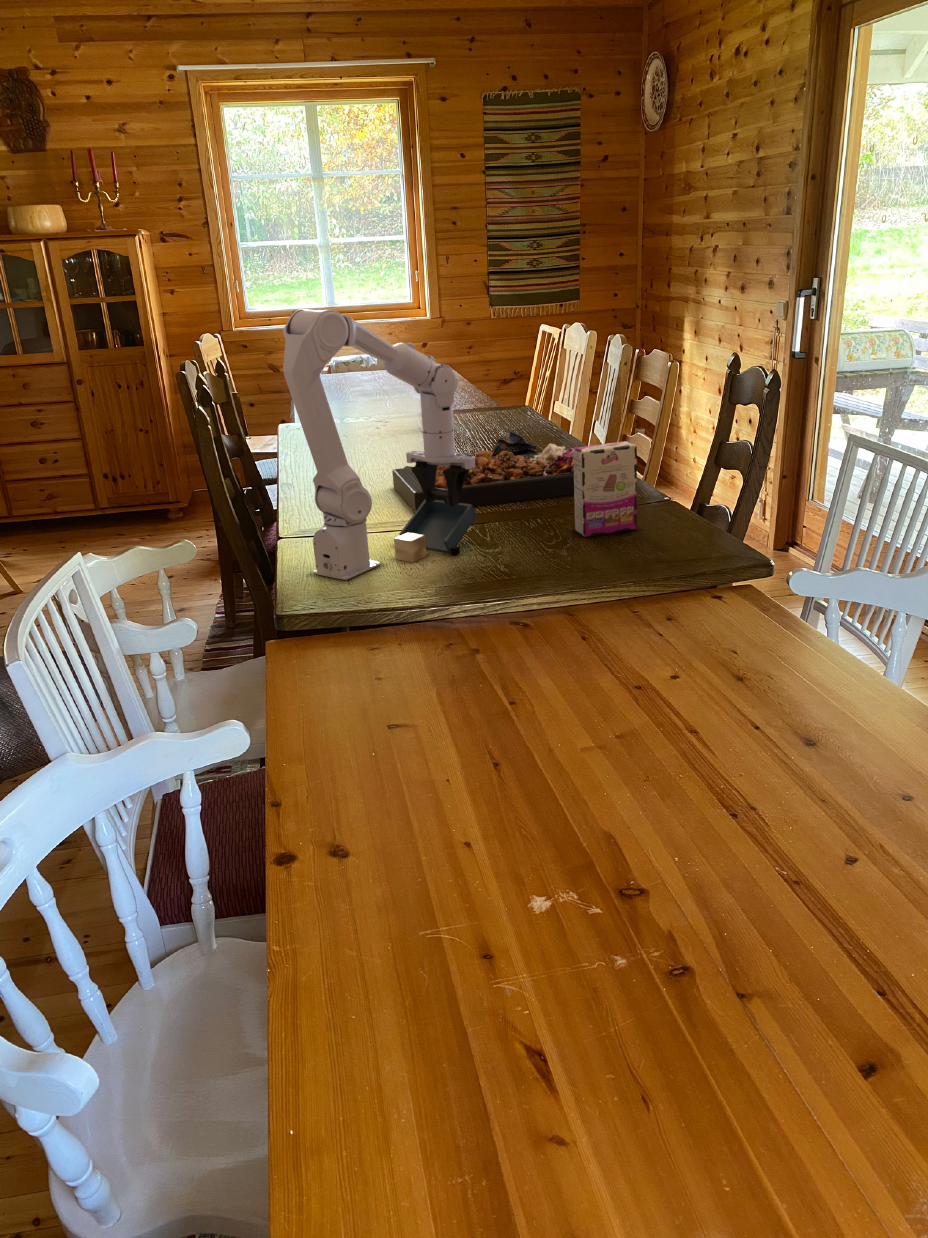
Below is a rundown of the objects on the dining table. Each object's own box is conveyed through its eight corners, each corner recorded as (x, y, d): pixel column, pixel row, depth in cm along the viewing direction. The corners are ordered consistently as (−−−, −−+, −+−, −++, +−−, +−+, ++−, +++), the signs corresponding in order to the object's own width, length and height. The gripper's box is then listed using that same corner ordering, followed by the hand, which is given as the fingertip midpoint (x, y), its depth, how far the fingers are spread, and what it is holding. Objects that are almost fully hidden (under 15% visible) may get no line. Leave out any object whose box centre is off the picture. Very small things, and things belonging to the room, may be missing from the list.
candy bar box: (625, 523, 180) (627, 439, 174) (637, 529, 176) (638, 444, 169) (573, 530, 177) (572, 446, 171) (583, 537, 173) (582, 451, 167)
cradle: (455, 556, 167) (454, 548, 166) (396, 545, 174) (396, 538, 174) (460, 553, 168) (459, 546, 167) (401, 543, 176) (401, 536, 175)
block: (424, 535, 166) (426, 555, 168) (407, 532, 168) (409, 552, 170) (411, 541, 163) (412, 562, 165) (393, 538, 165) (395, 559, 167)
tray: (451, 553, 168) (439, 529, 164) (404, 545, 174) (392, 521, 170) (478, 514, 173) (467, 489, 169) (432, 508, 179) (420, 484, 175)
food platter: (571, 467, 227) (571, 425, 223) (611, 489, 205) (612, 443, 201) (393, 487, 217) (390, 444, 213) (415, 513, 195) (412, 465, 191)
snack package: (496, 448, 254) (487, 456, 243) (499, 425, 251) (490, 432, 240) (538, 455, 252) (531, 463, 241) (542, 432, 249) (535, 439, 238)
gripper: (483, 429, 166) (486, 502, 171) (420, 424, 174) (425, 494, 179) (460, 436, 161) (464, 511, 166) (397, 431, 169) (402, 502, 174)
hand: (442, 503), depth 172 cm, fingers closed on tray, 5 cm apart
